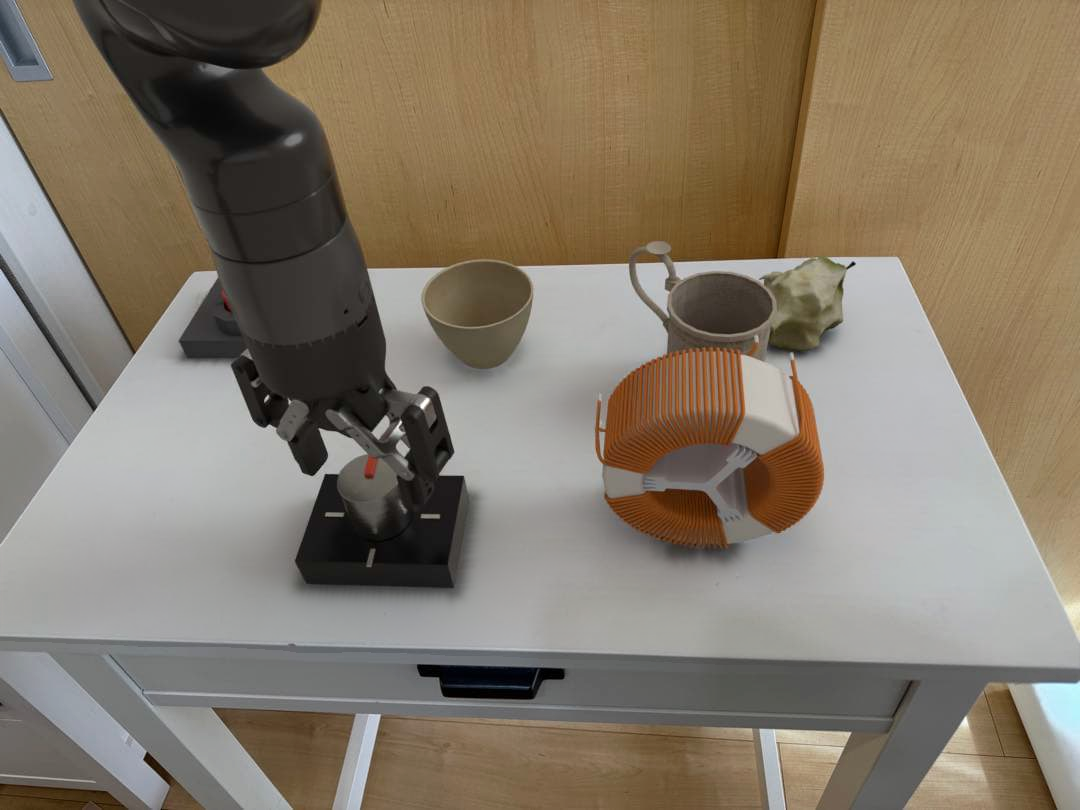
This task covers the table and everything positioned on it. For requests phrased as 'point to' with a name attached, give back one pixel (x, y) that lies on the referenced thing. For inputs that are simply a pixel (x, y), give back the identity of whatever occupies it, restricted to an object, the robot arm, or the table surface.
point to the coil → (710, 448)
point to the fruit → (806, 302)
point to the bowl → (479, 310)
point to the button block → (213, 329)
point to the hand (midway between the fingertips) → (366, 483)
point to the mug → (710, 308)
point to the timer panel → (386, 542)
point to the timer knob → (373, 498)
